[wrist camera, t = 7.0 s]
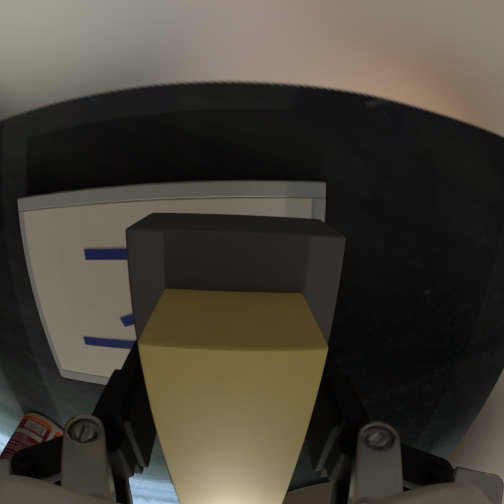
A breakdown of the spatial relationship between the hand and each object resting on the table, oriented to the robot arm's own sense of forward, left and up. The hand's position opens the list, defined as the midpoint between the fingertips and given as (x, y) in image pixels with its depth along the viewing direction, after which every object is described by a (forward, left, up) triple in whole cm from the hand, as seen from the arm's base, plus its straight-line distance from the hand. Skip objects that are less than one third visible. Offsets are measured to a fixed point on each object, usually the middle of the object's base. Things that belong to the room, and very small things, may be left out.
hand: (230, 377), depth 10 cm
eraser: (0, 0, -1) cm, 1 cm away
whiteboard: (+1, -4, -7) cm, 8 cm away
